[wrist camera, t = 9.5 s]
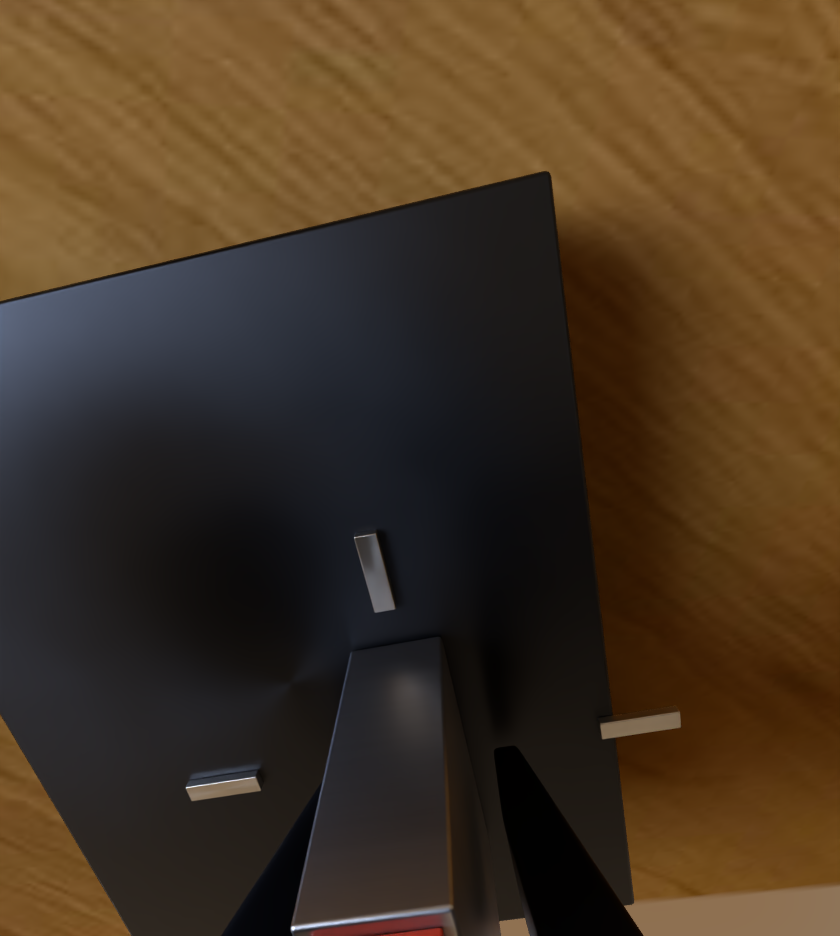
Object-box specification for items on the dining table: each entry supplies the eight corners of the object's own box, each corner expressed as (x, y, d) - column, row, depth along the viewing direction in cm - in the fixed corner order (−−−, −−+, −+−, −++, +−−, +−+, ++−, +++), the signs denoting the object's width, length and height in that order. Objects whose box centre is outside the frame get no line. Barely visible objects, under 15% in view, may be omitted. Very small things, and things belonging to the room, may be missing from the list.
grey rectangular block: (489, 842, 10) (533, 1213, 6) (411, 853, 10) (401, 1223, 6) (441, 634, 8) (455, 941, 4) (349, 650, 8) (280, 962, 4)
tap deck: (632, 771, 13) (692, 908, 10) (204, 833, 14) (144, 975, 11) (572, 197, 9) (645, 143, 6) (-33, 339, 10) (-232, 353, 7)
